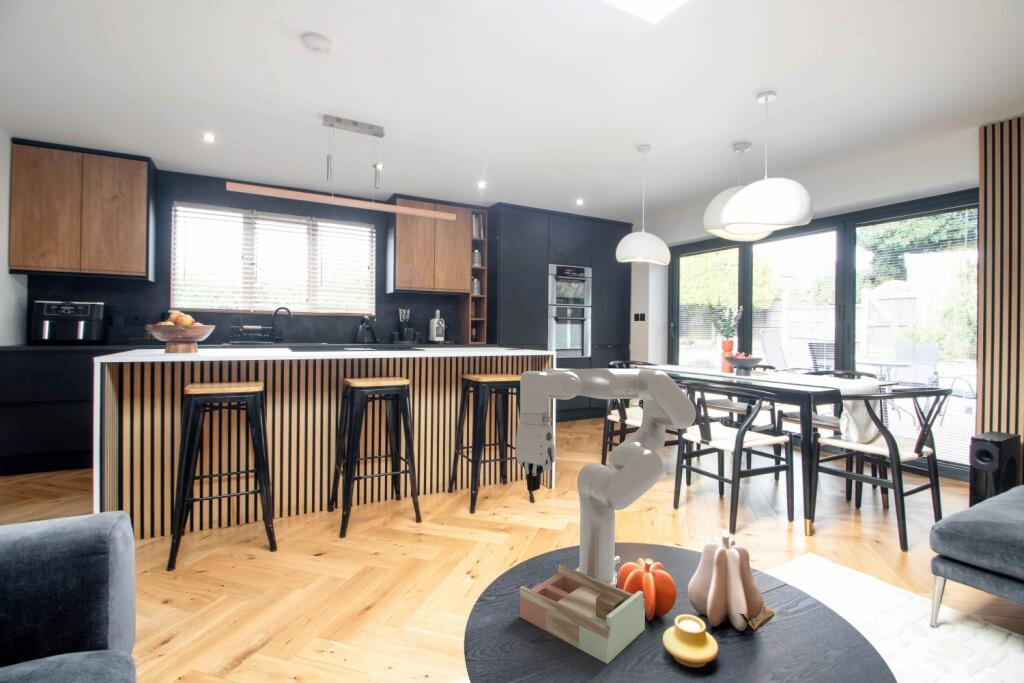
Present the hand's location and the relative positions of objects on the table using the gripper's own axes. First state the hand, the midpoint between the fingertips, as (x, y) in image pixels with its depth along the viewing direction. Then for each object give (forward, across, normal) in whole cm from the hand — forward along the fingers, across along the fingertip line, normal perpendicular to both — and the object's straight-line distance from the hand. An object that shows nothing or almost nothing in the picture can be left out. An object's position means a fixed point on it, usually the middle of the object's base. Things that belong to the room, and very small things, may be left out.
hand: (533, 489), depth 124 cm
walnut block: (+22, -24, +2) cm, 33 cm away
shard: (+28, -46, -30) cm, 62 cm away
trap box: (+27, -16, +2) cm, 32 cm away
